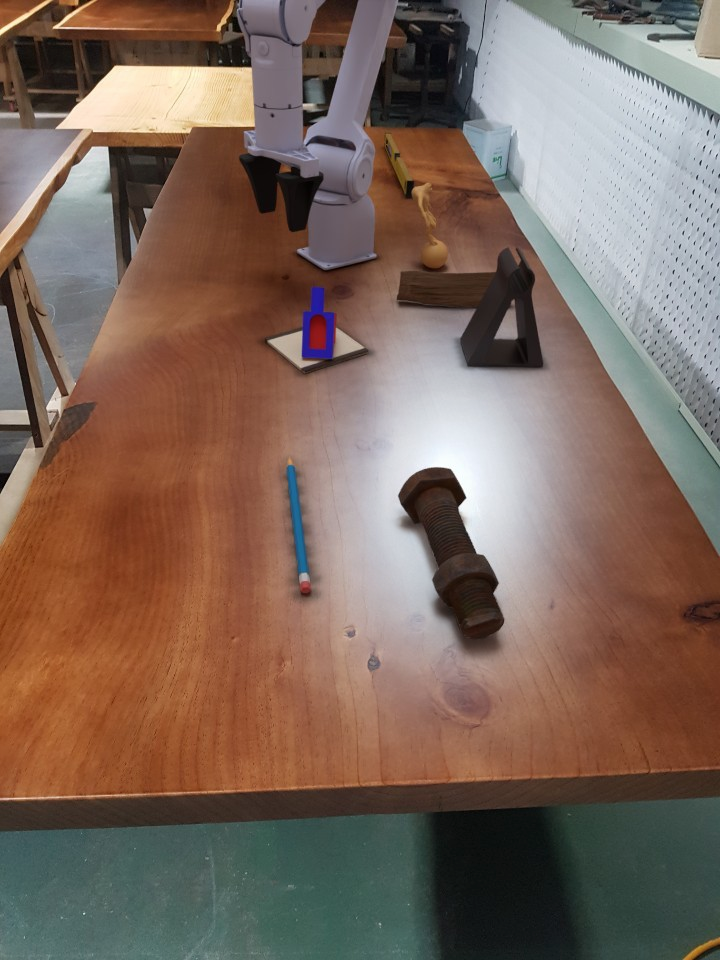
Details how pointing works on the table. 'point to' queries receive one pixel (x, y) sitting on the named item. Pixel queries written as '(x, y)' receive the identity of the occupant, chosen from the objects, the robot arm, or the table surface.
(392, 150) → the spirit level
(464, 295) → the wood plank
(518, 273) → the phone stand
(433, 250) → the figurine
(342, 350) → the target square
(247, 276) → the table surface
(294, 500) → the pencil
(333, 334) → the toy building block
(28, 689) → the table surface
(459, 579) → the bolt
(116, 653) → the table surface
